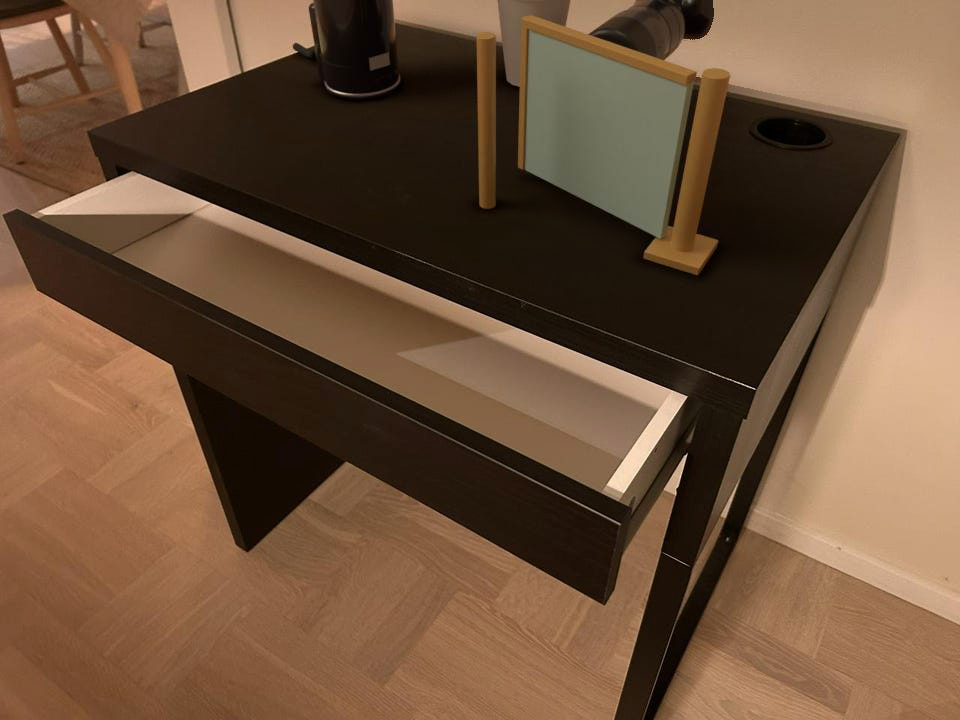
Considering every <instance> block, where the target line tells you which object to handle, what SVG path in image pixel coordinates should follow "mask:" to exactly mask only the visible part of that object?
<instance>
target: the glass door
mask: <svg viewBox="0 0 960 720" xmlns="http://www.w3.org/2000/svg"><path fill="white" fill-rule="evenodd" d="M588 34H589V33H585V32H582V31H579V30H577V29H573V28H570V27H567V26H566V27H565V26H562V25H559V24H556V23H553V22H550V21H547V20H544V19H541V18H538V17H535V16H533V15H528V16H525V17H522V18H521V54H520V87H519V100H518V101H519V104H518V144H517V145H518V150H517V168H518V169H520V170H521V171H526V172H528V173H530V174H532V175H534V176H536V177H538V178H540V179H542V180H544V181H546V182H548V183H549V184H551V185H553V186H555V187H558V188H559V189H562V190H563V191H566V192H568V193H569V194H571V195H574V196H575V197H577V198H579V199H581V200H583V201H585V202H587V203H589V204H591V205H593V206H595V207H597V208H599V209H601V210H603V211H605V212H607V213H609V214H611V215H613V216H615V217H616V218H618V219H620V220H622V221H624V222H626V223H628V224H630V225H632V226H634V227H637V228H638V229H640V230H642V231H644V232H645V233H648V234H650V235H652V236H654V237H655V238H656V237H658V238H660V239H661V238H663V237H664V236H666V232H667V227H668V226H669V220H670V216H671V210H672V206H673V205H672V204H673V198H674V195H675V194H674V193H675V187H676V182H677V177H678V171H679V165H680V162H681V161H680V160H681V155H682V149H683V144H684V138H685V133H686V127H687V122H688V116H689V111H690V105H691V99H692V95H693V94H692V93H693V89H694V83H695V82H696V79H697V74H698V71H696V70H693V69H690V68H688V67H684V66H681V65H678V64H676V63H673V62H671V61H666V60H661V59H658V58H655V57H652V56H649V55H647V54H644V53H641V52H638V51H635V50H632V49H629V48H626V47H623V46H620V45H617V44H614V43H611V42H609V41H606V40H603V39H600V38H597V37H594V36H591V35H588Z"/></svg>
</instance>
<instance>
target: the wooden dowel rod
mask: <svg viewBox="0 0 960 720" xmlns="http://www.w3.org/2000/svg"><path fill="white" fill-rule="evenodd" d="M476 79H477V81H476V87H477V89H476V91H477V141H478V142H477V144H478V145H477V148H478V153H477V154H478V203H479V205H478V206H479V207H480V208H482V209H484V210H490V209H493V208H495V207H496V205H497V143H496V142H497V130H496V129H497V35H496V33H494V32H489V31H483V32H479V33H477V34H476Z"/></svg>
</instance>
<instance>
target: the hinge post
mask: <svg viewBox="0 0 960 720" xmlns="http://www.w3.org/2000/svg"><path fill="white" fill-rule="evenodd" d="M730 79H731V73H730V72H729V71H728V70H726V69H723V68H717V67H716V68H715V67H712V68H711V67H710V68H706V69H704V70H703V71H702V74H701V79H700V84H699V90H698V95H697V99H696V100H697V101H696V105H695V110H694V115H693V120H692V127H691V131H690V132H691V133H690V138H689V142H688V147H687V153H686V158H685V163H684V170H683V175H682V180H681V185H680V186H681V187H680V190H679V195H678V200H677V206H676V212H675V216H674V222H673V226H670V225H668V227H667V232H666V236H664V237H663V238H661V239H660V238H658V237H656V236H655V237H654V239H652V241H651V242H650V244H649V245H648V246H647V247H646V249H645V250H644V252H643V258H642V259H644V260H646V261H650V262H654V263H656V264H659V265H663V266H665V267H668V268H672V269H674V270H675V269H676V270H679V271H682V272H684V273H688V274H692V275H694V276H699V275H700V274H701V272H702V271H703V269H704V267H705V266H706V264H707V263H708V261H709V260H710V258H711V257H712V255H713V254H714V253H715V251H716V250H717V248H718V244H719V240H718V239H715V238H713V237H709V236H706V235H702V234H699V233H698V227H699V223H700V218H701V215H702V211H703V205H704V200H705V195H706V191H707V186H708V182H709V176H710V172H711V168H712V163H713V158H714V154H715V150H716V149H715V148H716V144H717V139H718V135H719V130H720V125H721V121H722V116H723V111H724V108H725V107H724V106H725V102H726V97H727V92H728V87H729V83H730Z"/></svg>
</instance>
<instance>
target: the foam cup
mask: <svg viewBox="0 0 960 720" xmlns="http://www.w3.org/2000/svg"><path fill="white" fill-rule="evenodd" d="M570 5H571V0H497V11H498V17H499V18H498V19H499V26H500V33H501V35H500V36H501V43H502V53H503V60H504V69H505V79H506V81H507V82H508V84H510V85H512V86H514V87H515V86H516V87H519V88H520V54H521V18H522V17H525V16H528V15H533V16H535V17H538V18H541V19H544V20H547V21H550V22H553V23H556V24H559V25H562V26H565V27H567V21H568V16H569V11H570Z"/></svg>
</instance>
